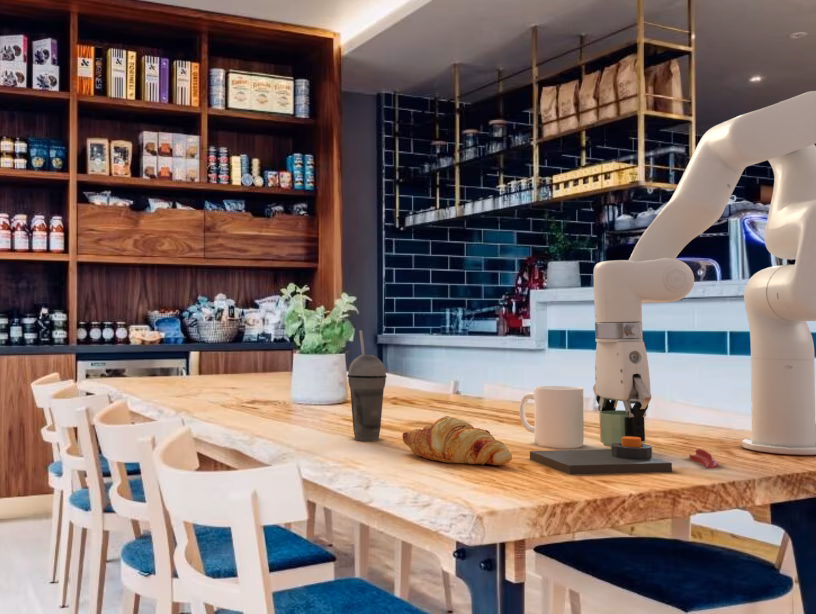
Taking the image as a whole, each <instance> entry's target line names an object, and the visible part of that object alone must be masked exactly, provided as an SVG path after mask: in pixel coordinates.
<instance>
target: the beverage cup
mask: <svg viewBox="0 0 816 614" xmlns="http://www.w3.org/2000/svg"><path fill="white" fill-rule="evenodd" d="M358 332H359V340H360V349H361V350H360V351H361V354H360V355H358V356H356V357H355V358H354V359H353V360H352V361H351V363H350V365H349V367H348V370H347V371H348V372H347V380H348V387H349V390H350V404H351V416H352V428H353V429H352V431H353V435H354V440H355V441H358V442H359V441H360V442H376V441H379V440H380V433H381V426H382V415H383V403H384V390H385V387H386V382H387V381H386V380H387V371H386V367H385V365H384V363H383V362H382V360H381V359H379V357H377V356H376V355H374V354H365V345H364V344H365V343H364V336H363V335H364V334H363V330H361V329H360V330H359V331H358Z"/></svg>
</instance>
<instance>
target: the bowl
mask: <svg viewBox="0 0 816 614" xmlns="http://www.w3.org/2000/svg"><path fill="white" fill-rule="evenodd" d="M598 416H599V418H598V419H599V420H598V421H599V441H600V443H601V444H603V446H605V447H608V448H611V444H613V443H621V437H625V417H628V416H627V413H626V410H625V409H624V410H622V409H621V410H620V409H616V410H610V411H601V412H599V411H598ZM644 426H645V424H644ZM645 443H646V439H645V440H644V441H641V444H645Z"/></svg>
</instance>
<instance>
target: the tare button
mask: <svg viewBox="0 0 816 614" xmlns="http://www.w3.org/2000/svg"><path fill="white" fill-rule="evenodd" d="M621 446H626V447H641V438H639V437H631V436H625V437H621Z"/></svg>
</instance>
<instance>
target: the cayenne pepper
mask: <svg viewBox="0 0 816 614" xmlns="http://www.w3.org/2000/svg"><path fill="white" fill-rule="evenodd" d="M688 456H689V461H692V462H695V463H698V464H701V465H703V466H704V467H705V469H709V470H710V469H717V468H719V461H718V460H716V459H715V458H713V456H712V454H711V453H710V452H708V451H706V450H704V449H700V448H697V449H696V450H695V454H688Z"/></svg>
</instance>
